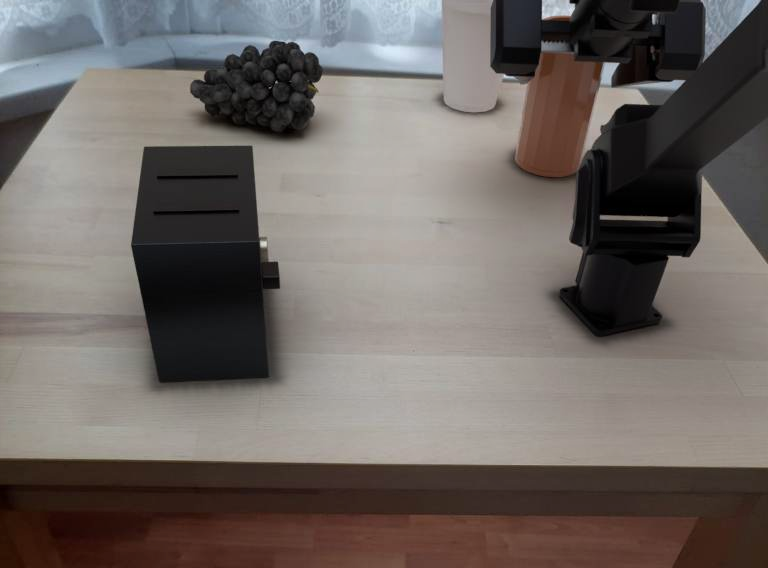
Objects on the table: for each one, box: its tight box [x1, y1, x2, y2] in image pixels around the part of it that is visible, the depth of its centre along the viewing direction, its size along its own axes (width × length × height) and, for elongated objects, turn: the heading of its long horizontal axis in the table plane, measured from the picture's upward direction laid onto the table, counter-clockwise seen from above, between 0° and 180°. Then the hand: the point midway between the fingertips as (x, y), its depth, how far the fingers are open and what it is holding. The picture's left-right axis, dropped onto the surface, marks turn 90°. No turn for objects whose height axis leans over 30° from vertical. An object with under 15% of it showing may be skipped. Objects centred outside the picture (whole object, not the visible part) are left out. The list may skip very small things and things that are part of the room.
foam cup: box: [441, 0, 505, 114], centre depth 90 cm, size 10×9×13 cm
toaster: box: [130, 145, 281, 383], centre depth 58 cm, size 9×14×11 cm, turn 8°
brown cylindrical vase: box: [514, 14, 606, 178], centre depth 80 cm, size 7×7×13 cm
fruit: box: [189, 40, 324, 133], centre depth 85 cm, size 9×8×15 cm
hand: (567, 80), depth 78 cm, fingers open, 9 cm apart
